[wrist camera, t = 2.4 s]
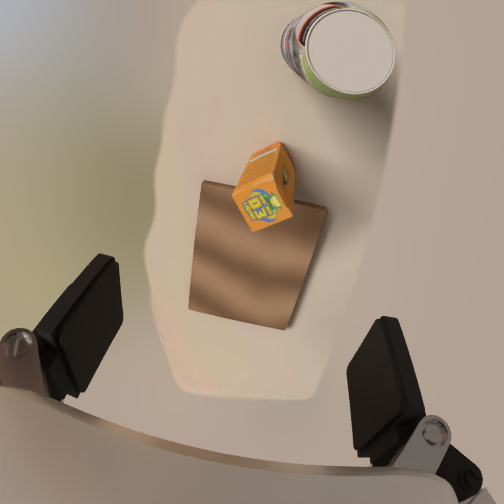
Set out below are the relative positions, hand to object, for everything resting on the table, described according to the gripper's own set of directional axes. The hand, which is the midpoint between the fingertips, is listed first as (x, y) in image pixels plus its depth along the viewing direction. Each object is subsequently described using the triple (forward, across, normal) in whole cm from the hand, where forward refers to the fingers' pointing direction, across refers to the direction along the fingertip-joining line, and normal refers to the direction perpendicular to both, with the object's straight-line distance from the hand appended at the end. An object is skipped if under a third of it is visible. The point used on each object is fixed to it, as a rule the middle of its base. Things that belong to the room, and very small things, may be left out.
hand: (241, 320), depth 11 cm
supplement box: (+21, 0, 0) cm, 21 cm away
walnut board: (+20, 0, +11) cm, 23 cm away
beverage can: (+21, -2, -11) cm, 23 cm away
